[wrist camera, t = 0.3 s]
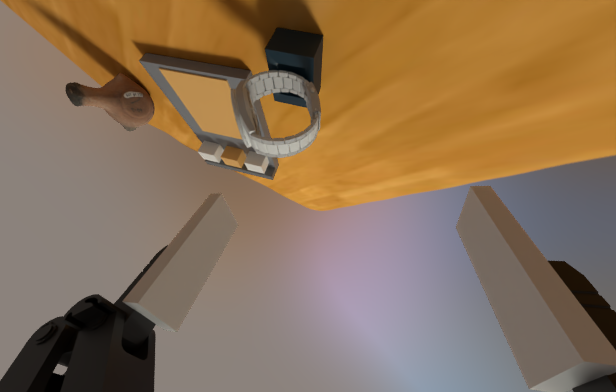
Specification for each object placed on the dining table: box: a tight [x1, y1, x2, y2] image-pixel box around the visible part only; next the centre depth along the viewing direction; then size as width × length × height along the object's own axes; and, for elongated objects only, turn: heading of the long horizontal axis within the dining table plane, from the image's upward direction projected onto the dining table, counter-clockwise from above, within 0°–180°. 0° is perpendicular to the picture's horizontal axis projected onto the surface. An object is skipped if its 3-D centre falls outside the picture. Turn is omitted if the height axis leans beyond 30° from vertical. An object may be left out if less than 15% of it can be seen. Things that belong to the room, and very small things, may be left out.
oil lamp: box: [66, 73, 154, 131], centre depth 31 cm, size 9×4×8 cm, turn 20°
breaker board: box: [139, 53, 279, 180], centre depth 34 cm, size 20×14×4 cm
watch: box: [231, 27, 323, 158], centre depth 20 cm, size 6×8×11 cm
